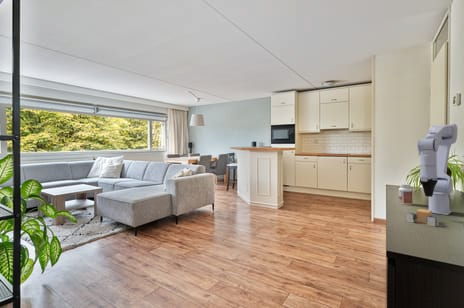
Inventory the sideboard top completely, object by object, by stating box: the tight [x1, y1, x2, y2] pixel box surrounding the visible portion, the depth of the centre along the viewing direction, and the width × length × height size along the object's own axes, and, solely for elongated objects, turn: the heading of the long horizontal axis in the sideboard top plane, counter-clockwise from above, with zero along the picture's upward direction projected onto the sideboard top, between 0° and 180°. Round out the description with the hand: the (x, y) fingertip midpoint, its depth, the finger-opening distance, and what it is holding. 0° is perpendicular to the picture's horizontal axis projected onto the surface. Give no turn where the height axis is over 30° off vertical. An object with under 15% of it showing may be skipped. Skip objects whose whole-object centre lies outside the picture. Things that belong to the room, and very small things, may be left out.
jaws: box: [404, 211, 440, 227], centre depth 99 cm, size 4×11×3 cm, turn 38°
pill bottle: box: [398, 183, 413, 206], centre depth 133 cm, size 6×6×11 cm
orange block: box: [415, 208, 433, 224], centre depth 101 cm, size 6×4×4 cm
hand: (428, 196), depth 106 cm, fingers closed
